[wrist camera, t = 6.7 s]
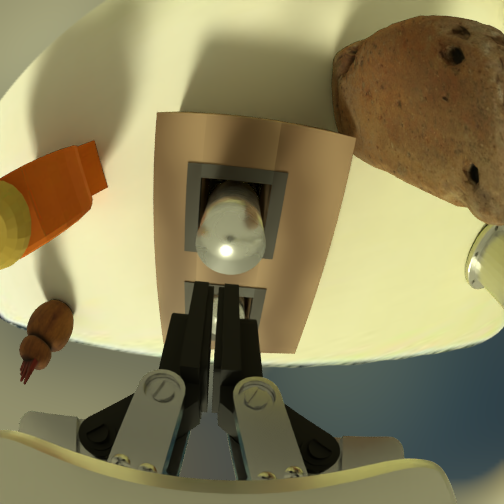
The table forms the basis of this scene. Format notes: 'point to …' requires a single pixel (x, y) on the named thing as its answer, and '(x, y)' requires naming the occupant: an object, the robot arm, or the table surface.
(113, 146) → the table surface
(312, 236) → the socket block
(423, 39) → the block
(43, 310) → the wooden figurine
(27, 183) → the alarm clock
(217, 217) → the peg
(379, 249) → the table surface
